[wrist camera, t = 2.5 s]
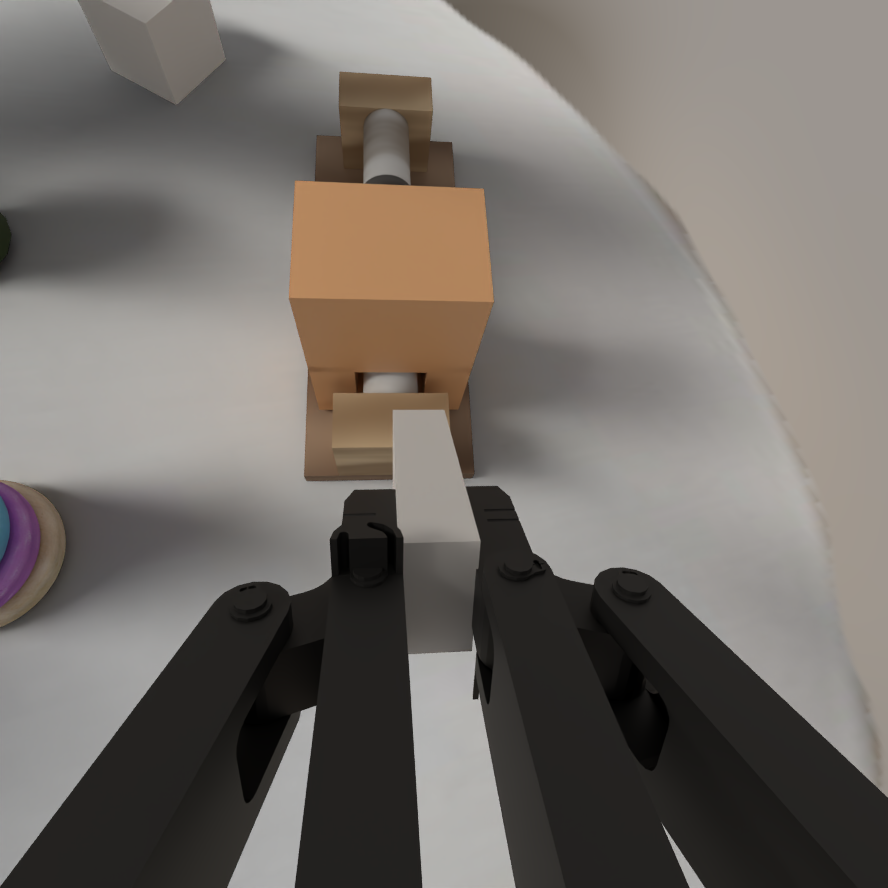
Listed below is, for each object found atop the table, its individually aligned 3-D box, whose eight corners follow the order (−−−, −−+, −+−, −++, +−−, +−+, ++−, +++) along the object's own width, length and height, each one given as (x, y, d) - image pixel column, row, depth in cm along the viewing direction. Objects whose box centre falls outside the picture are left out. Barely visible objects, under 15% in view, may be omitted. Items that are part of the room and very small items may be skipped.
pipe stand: (471, 478, 34) (489, 445, 29) (306, 480, 33) (290, 447, 27) (450, 153, 43) (460, 78, 37) (318, 146, 42) (308, 68, 36)
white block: (177, 106, 42) (145, 23, 36) (111, 71, 42) (69, -16, 37) (226, 60, 44) (203, -25, 38) (163, 27, 44) (131, -62, 39)
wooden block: (458, 409, 34) (493, 301, 23) (319, 410, 33) (288, 297, 22) (453, 324, 36) (483, 188, 25) (321, 322, 35) (295, 180, 24)
